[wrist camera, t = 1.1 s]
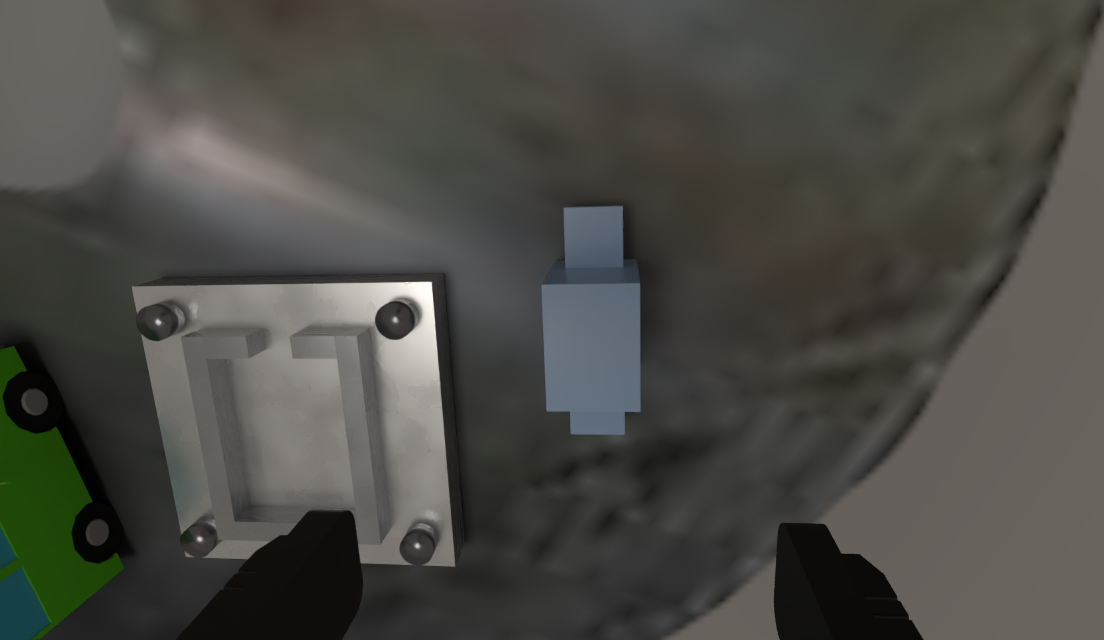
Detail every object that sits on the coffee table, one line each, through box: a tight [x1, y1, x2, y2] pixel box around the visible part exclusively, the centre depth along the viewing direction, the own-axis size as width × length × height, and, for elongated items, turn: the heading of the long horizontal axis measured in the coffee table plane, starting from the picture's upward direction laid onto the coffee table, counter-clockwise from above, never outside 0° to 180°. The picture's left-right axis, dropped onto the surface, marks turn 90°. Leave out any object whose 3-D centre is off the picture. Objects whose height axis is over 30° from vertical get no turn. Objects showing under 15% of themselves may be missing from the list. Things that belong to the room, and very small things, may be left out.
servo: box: [541, 205, 640, 435], centre depth 27 cm, size 10×4×6 cm, turn 2°
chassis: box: [132, 274, 465, 566], centre depth 31 cm, size 14×14×3 cm
